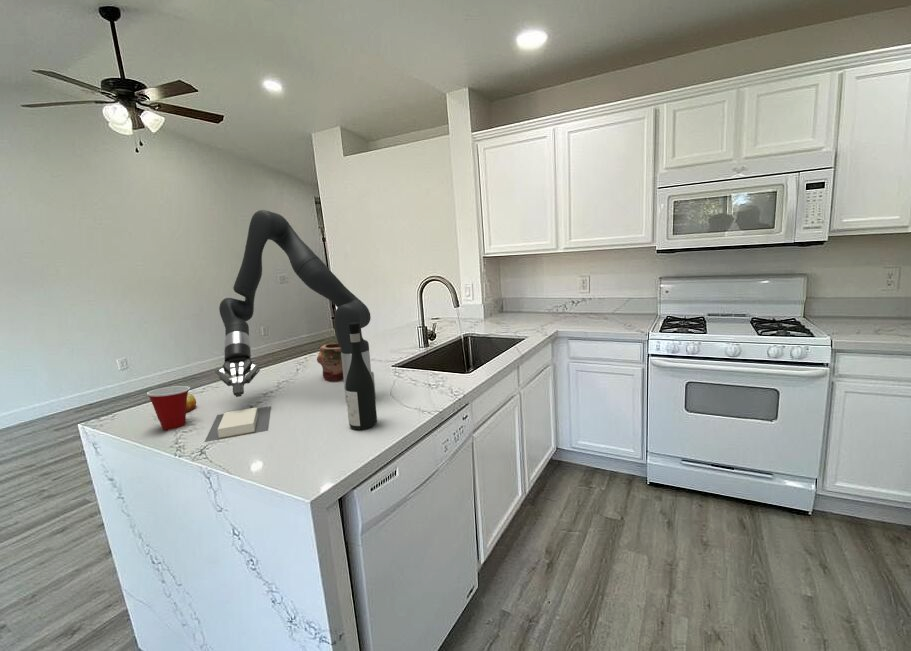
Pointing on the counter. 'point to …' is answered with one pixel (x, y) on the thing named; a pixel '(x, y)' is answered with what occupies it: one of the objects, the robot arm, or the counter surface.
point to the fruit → (190, 402)
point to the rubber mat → (261, 426)
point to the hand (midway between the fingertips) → (238, 395)
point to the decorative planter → (331, 362)
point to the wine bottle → (359, 386)
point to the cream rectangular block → (238, 422)
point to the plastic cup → (170, 405)
